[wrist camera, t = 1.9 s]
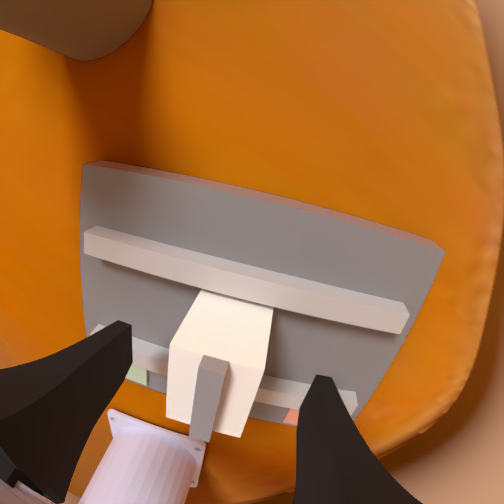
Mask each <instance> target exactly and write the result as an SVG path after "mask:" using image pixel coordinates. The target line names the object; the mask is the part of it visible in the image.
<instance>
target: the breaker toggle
mask: <svg viewBox="0 0 504 504" xmlns="http://www.w3.org/2000/svg"><path fill="white" fill-rule="evenodd" d="M273 308H274V307H272V306H268V305H264V304H260V303H256V302H252V301H248V300H244V299H240V298H236V297H232V296H229V295H225V294H221V293H217V292H213V291H210V290H206V289H201V291H200V293H199V294H198V296H197V298H196V299H195V301H194V303H193V305H192V306H191V308H190V310H189V311H188V313H187V315H186V317H185V318H184V320H183V322H182V324H181V325H180V327H179V329H178V331H177V332H176V334H175V336H174V338H173V339H172V341H171V343H170V346H169V361H168V378H167V399H166V417H168V418H171V419H174V420H177V421H180V422H183V423H187V424H190V430H189V437H191V438H195V439H198V440H202V441H205V442H209V441H210V438H211V434H212V431H215V432H219V433H222V434H227V435H231V436H235V437H239V438H240V437H241V434H242V431H243V429H244V426H245V423H246V421H247V418H248V415H249V412H250V410H251V407H252V404H253V401H254V399H255V396H256V393H257V390H258V387H259V384H260V382H261V379H262V376H263V373H264V370H265V363H266V356H267V350H268V343H269V336H270V329H271V322H272V315H273Z"/></svg>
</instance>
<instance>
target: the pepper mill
mask: <svg viewBox="0 0 504 504" xmlns="http://www.w3.org/2000/svg"><path fill="white" fill-rule="evenodd" d="M152 1H153V0H0V30H3V31H6V32H9V33H11V34H14V35H17V36H19V37H22V38H24V39H27V40H29V41H32V42H34V43H37V44H39V45H42V46H44V47H46V48H49V49H51V50H53V51H56V52H58V53H60V54H63V55H65V56H67V57H69V58H72V59H76V60H80V61H89V60H96V59H99V58H101V57H104V56H106V55H108V54H110V53H112V52H114V51H115V50H116V49H118V48H119V47H120V46H121V45H123V44H124V43H125V42H127V41H128V40H129V39H130V38H131V37H132V36H133V34H134V33H135V32H136V31H137V30H138V28H139V27H140V26H141V25H142V24H143V22H144V20H145V18H146V16H147V14H148V12H149V10H150V9H151V6H152Z"/></svg>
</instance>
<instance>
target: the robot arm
mask: <svg viewBox="0 0 504 504" xmlns="http://www.w3.org/2000/svg"><path fill="white" fill-rule="evenodd" d="M132 363H133V353H132V325H131V324H128V323H125V322H123V321H120V320H117V321H116V322H114V323H112V324H110V325H108V326H107V327H105V328H103V329H101V330H99V331H98V332H96V333H94V334H92V335H91V336H89V337H87V338H85V339H83V340H81V341H79V342H78V343H76V344H74V345H71V346H69V347H67V348H65V349H63V350H61V351H59V352H57V353H54V354H52V355H50V356H47V357H44V358H42V359H39V360H36V361H33V362H30V363H26V364H22V365H18V366H15V367H10V368H5V369H0V504H53V503H52V502H54V503H55V504H59V503H63V502H64V501H65V497H66V494H67V491H68V488H69V484H70V481H71V478H72V476H73V473H74V470H75V468H76V465H77V462H78V460H79V458H80V455H81V453H82V451H83V448H84V446H85V444H86V442H87V440H88V438H89V436H90V433H91V431H92V429H93V427H94V426H95V424H96V422H97V421H98V419H99V418H100V416H101V414H102V413H103V411H104V410H105V408H106V407H107V405H108V404H109V402H110V401H111V400H112V398H113V397H114V395H115V394H116V392H117V390H118V389H119V387H120V386H121V384H122V383H123V381H124V379H125V377H126V375H127V373H128V371H129V369H130V367H131V365H132ZM108 418H109V423H110V427H111V431H112V436H113V440H112V442H111V443H110V445H109V447H108V449H107V451H106V453H105V455H104V456H103V458H102V460H101V462H100V464H99V466H98V468H97V469H96V471H95V473H94V475H93V477H92V479H91V481H90V483H89V485H88V486H87V488H86V490H85V492H84V494H83V496H82V498H81V500H80V502H79V504H185V501H186V498H187V494H188V491H189V488H190V487H197V484H198V480H199V475H200V471H201V467H202V462H203V458H204V453H205V449H206V443H205V442H204V441H202V440H198V439H195V438H191V437H189V436H186V435H183V434H179V433H176V432H173V431H170V430H167V429H164V428H161V427H158V426H155V425H153V424H150V423H147V422H144V421H142V420H139V419H137V418H134V417H131V416H129V415H126V414H124V413H121V412H119V411H117V410H114V409H109V411H108ZM36 492H37V493H38V494H37V493H36ZM39 494H40V495H42V496H44V497H45V498H47V499H49V500H51V501H52V502H50V501H48V500H47V499H45V498H44V497H42V496H40V495H39ZM293 504H422V503H421V502H420V501H418V500H417V499H415V498H414V497H413V496H412V495H411V494H410V493H409V492H408V491H406V490H405V489H404V488H403V487H402V486H401V485H400V484H399V483H398V482H397V481H396V480H395V479H394V478H393V477H392V476H391V475H390V473H389V472H388V471H387V470H386V469H385V468H384V467H383V466H382V464H381V463H380V462H379V461H378V459H377V458H376V457H375V455H374V454H373V453H372V451H371V450H370V448H369V447H368V445H367V444H366V442H365V441H364V439H363V437H362V436H361V434H360V432H359V431H358V429H357V427H356V425H355V424H354V422H353V420H352V418H351V416H350V414H349V412H348V410H347V408H346V406H345V404H344V402H343V400H342V398H341V396H340V394H339V392H338V389H337V387H336V385H335V383H334V381H333V379H332V377H328V376H323V375H317V374H316V376H315V378H314V380H313V382H312V384H311V386H310V388H309V390H308V392H307V394H306V396H305V398H304V400H303V402H302V404H301V406H300V408H299V416H298V424H297V464H296V488H295V496H294V502H293Z"/></svg>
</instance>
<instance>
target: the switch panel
mask: <svg viewBox="0 0 504 504" xmlns="http://www.w3.org/2000/svg"><path fill="white" fill-rule="evenodd" d="M444 255H445V251H444V250H443V249H442V248H441V247H440V246H438V245H437V244H436V243H435V242H434V241H433V240H430V239H427V238H424V237H421V236H418V235H415V234H412V233H409V232H406V231H402V230H399V229H396V228H393V227H389V226H386V225H383V224H380V223H376V222H373V221H370V220H366V219H363V218H359V217H356V216H352V215H349V214H345V213H342V212H338V211H334V210H331V209H327V208H323V207H320V206H316V205H312V204H308V203H305V202H301V201H297V200H293V199H289V198H285V197H281V196H277V195H273V194H269V193H265V192H260V191H256V190H252V189H248V188H243V187H239V186H234V185H230V184H225V183H221V182H216V181H212V180H207V179H202V178H197V177H192V176H188V175H183V174H177V173H172V172H167V171H162V170H157V169H151V168H146V167H140V166H134V165H128V164H123V163H116V162H110V161H104V160H99V161H94V162H89V163H85V164H83V169H82V183H81V203H80V265H81V285H82V299H83V310H84V320H85V329H86V337H89V336H91V335H92V334H94V333H96V332H98V331H99V330H101V329H103V328H105V327H107V326H108V325H110V324H112V323H114V322H116V321H117V320H120V321H123V322H125V323H128V324H131V325H132V353H133V363H132V365H131V367H130V369H129V371H128V373H127V375H126V377H125V379H126V380H128V381H131V382H134V383H136V384H139V385H142V386H144V387H147V388H150V389H153V390H156V391H159V392H161V393H164V394H167V378H168V361H169V346H170V343H171V341H172V339H173V338H174V336H175V334H176V332H177V331H178V329H179V327H180V325H181V324H182V322H183V320H184V318H185V317H186V315H187V313H188V311H189V310H190V308H191V306H192V305H193V303H194V301H195V299H196V298H197V296H198V294H199V293H200V291H201V289H206V290H210V291H213V292H217V293H221V294H225V295H229V296H232V297H236V298H240V299H244V300H248V301H252V302H256V303H260V304H264V305H268V306H272V307H274V308H273V315H272V322H271V329H270V336H269V343H268V350H267V356H266V363H265V370H264V373H263V376H262V379H261V382H260V384H259V387H258V390H257V393H256V396H255V399H254V401H253V404H252V407H251V410H250V412H249V415H248V417H251V418H255V419H260V420H265V421H269V422H275V423H280V424H285V425H291V426H297V424H298V416H299V408H300V406H301V404H302V402H303V400H304V398H305V396H306V394H307V392H308V390H309V388H310V386H311V384H312V382H313V380H314V378H315V376H316V374H317V375H323V376H328V377H332V379H333V381H334V383H335V385H336V387H337V389H338V392H339V394H340V396H341V398H342V400H343V402H344V404H345V406H346V408H347V410H348V412H349V414H350V416H351V418H352V420H353V421H354V420H355V419H356V417H357V416H358V414H359V413H360V411H361V410H362V409H363V407H364V406H365V404H366V403H367V401H368V400H369V398H370V397H371V395H372V394H373V392H374V391H375V389H376V387H377V386H378V384H379V383H380V381H381V380H382V378H383V376H384V375H385V373H386V371H387V370H388V368H389V366H390V365H391V363H392V361H393V360H394V358H395V356H396V354H397V353H398V351H399V349H400V347H401V345H402V344H403V342H404V340H405V338H406V336H407V334H408V333H409V331H410V329H411V327H412V325H413V323H414V321H415V319H416V317H417V315H418V313H419V311H420V309H421V307H422V305H423V303H424V301H425V299H426V296H427V294H428V292H429V290H430V288H431V285H432V283H433V281H434V279H435V276H436V274H437V272H438V269H439V267H440V264H441V262H442V260H443V257H444Z"/></svg>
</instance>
